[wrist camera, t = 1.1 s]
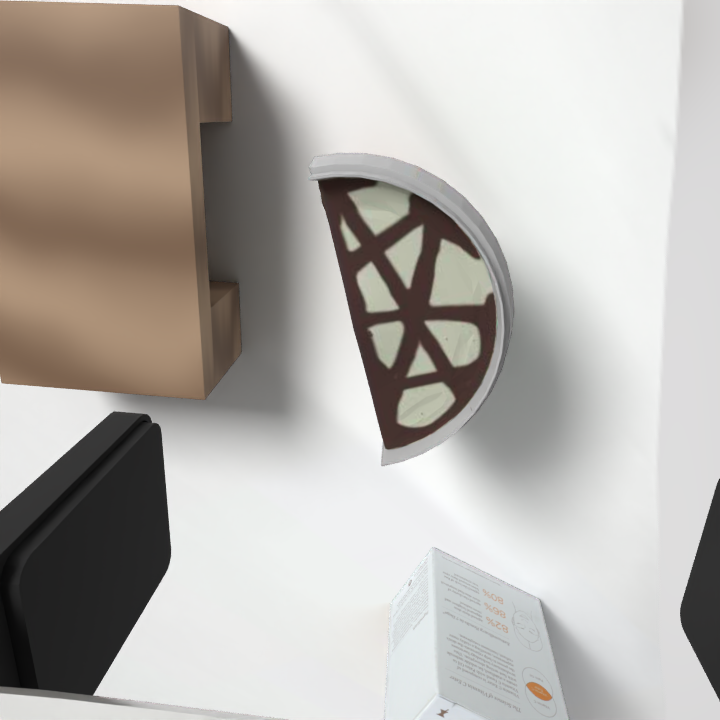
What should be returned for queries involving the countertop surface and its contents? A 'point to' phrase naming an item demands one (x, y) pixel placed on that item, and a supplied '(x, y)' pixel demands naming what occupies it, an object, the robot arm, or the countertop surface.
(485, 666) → the small box
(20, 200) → the bridge shelf
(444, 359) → the food container
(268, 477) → the countertop surface
